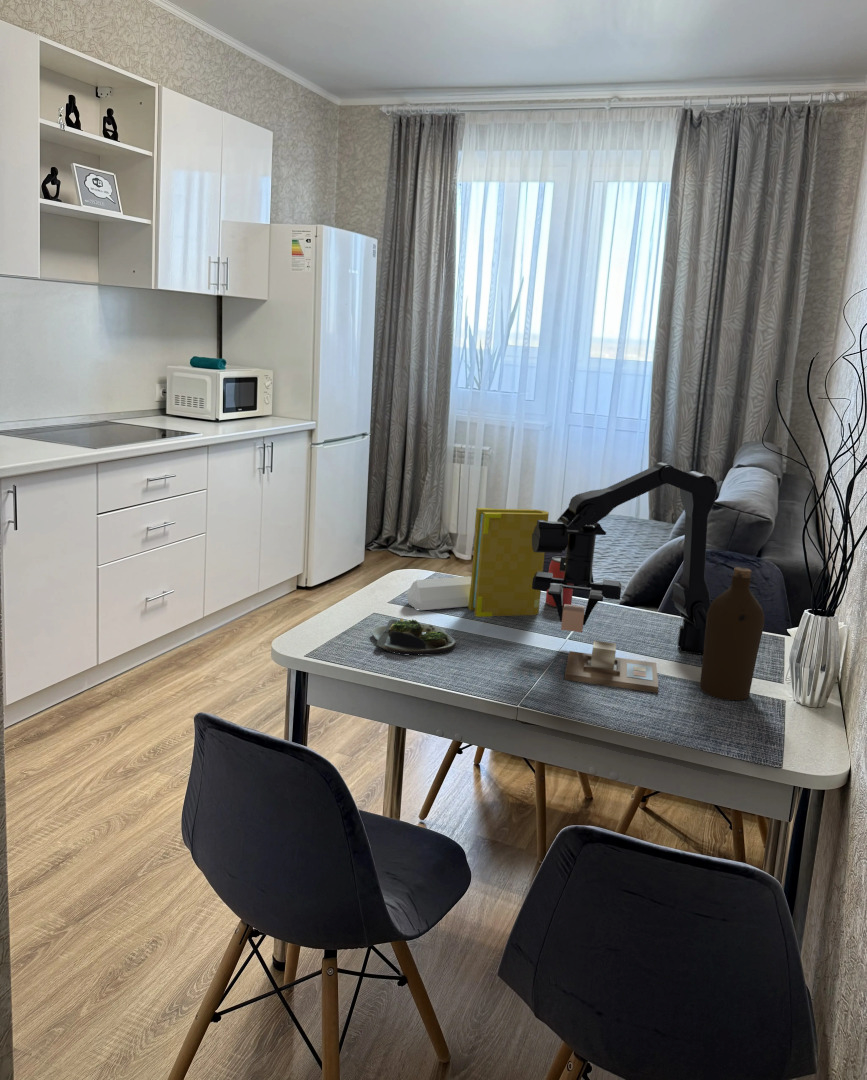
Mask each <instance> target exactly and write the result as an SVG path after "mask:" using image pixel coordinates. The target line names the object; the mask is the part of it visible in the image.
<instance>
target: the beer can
mask: <svg viewBox="0 0 867 1080" xmlns="http://www.w3.org/2000/svg"><path fill="white" fill-rule="evenodd" d="M561 557H562V556H554V557H553V556H552V557H551V561H550V563H549V566H548V573H553V578H559V579H564V574H565V572H562V571H560V570H559V568H560V560H561ZM567 584H568V583H567ZM569 585H570V584H569ZM571 585H574V584H571ZM548 590H549V589H548ZM548 590H547V591H545V592H546V595H545V603H546V604H547V606H549V607H553V608H557V607H556V604H555V602H554V599H553V597H552V595H548ZM573 591H574V589H569V588H563V608H564V604H567V605H572V601H573V595H574V594H573Z"/></svg>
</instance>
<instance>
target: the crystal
mask: <svg viewBox="0 0 867 1080" xmlns="http://www.w3.org/2000/svg"><path fill="white" fill-rule="evenodd" d="M471 577H472V575H471V576H470V575H469V576H456V577H442V578H428V579H427V578H425V579H417V580H415V581H413V582H412V583H411V585H410V588H409V589H408V591H407V593H406V596H407V601H408V605H409V606H410V605H411V606H412V607H411V606H410V607H411V608H413V607H414V608H416V609H419V610H418V611H426V610H427V611H429V610H440V609H441V610H442V609H451V608H452V609H453V608H462V607H468V605H469V595H470V589H471ZM414 608H413V609H414ZM416 609H415V610H416Z"/></svg>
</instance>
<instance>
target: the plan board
mask: <svg viewBox="0 0 867 1080" xmlns="http://www.w3.org/2000/svg"><path fill="white" fill-rule="evenodd" d="M591 659H592V653H589V652H581V651H580V652H579V651H573V650H569V651H568V656H567V661H566V666H565V672H564V679H563V680H565V681H573V682H579V683H585V684H594V685H599V686H608V687H613V686H614V687H613V688H620V687H621V689H628V690H633V691H634V690H636V691H642V692H651V693H657V694H658V693H659V679H658V667H657V662H653V661H646V660H638V659H633V658H632V659H630V658H623V657H616V656H615V661H614V670H612V669H605V668H598V667H591Z"/></svg>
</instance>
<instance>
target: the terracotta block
mask: <svg viewBox="0 0 867 1080" xmlns="http://www.w3.org/2000/svg"><path fill="white" fill-rule="evenodd" d="M585 610H586V606H583V605H574V604H571V605H567V604H564V608H563V615H562V622H561V626H560V630H561V631H566V632H576V633H582V632H583V627H584V625H583V619H584V614H585Z"/></svg>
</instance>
